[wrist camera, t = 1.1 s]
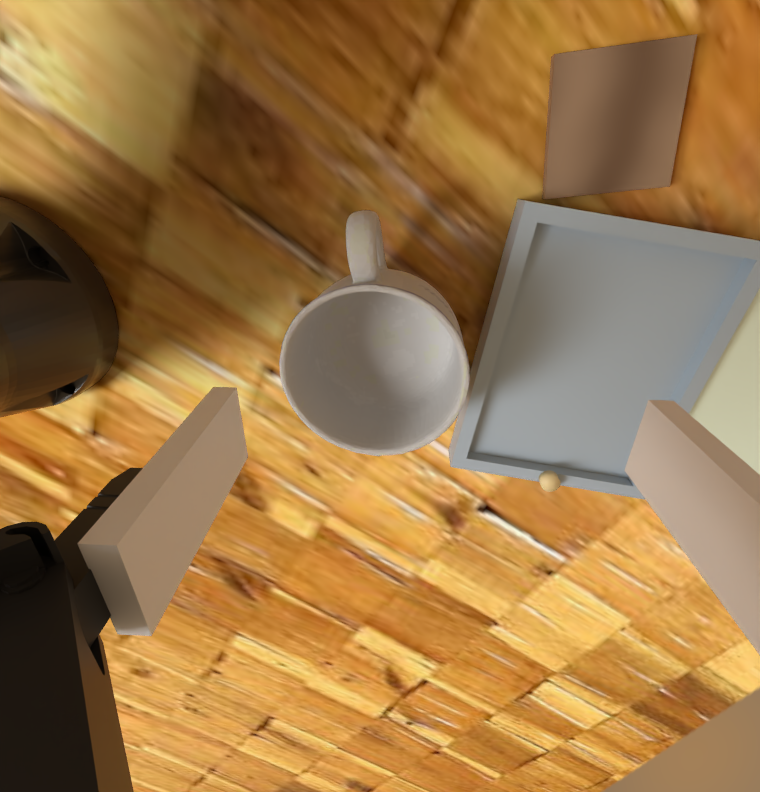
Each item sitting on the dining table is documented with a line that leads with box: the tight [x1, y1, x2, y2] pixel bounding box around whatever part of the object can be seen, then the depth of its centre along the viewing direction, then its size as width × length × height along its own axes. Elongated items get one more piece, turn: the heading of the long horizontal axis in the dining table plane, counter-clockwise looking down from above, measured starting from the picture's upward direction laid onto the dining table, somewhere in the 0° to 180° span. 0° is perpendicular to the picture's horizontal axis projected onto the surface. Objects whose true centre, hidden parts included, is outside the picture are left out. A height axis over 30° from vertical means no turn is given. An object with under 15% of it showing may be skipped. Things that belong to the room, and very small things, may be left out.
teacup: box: [279, 210, 470, 456], centre depth 27 cm, size 14×11×8 cm
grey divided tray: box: [449, 199, 760, 499], centre depth 30 cm, size 29×19×3 cm, turn 81°
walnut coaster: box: [542, 34, 697, 199], centre depth 24 cm, size 7×7×1 cm
